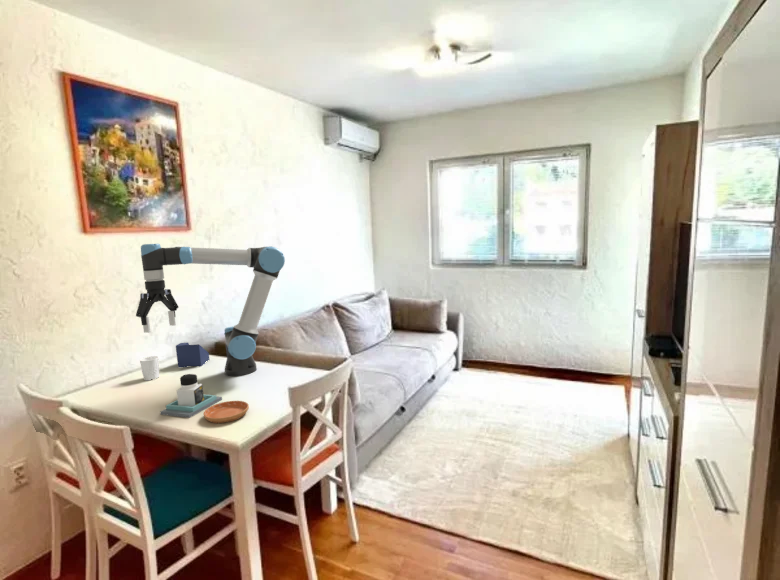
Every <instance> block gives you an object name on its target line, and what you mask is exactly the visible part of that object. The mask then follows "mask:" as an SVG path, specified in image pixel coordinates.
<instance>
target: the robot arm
mask: <svg viewBox="0 0 780 580" xmlns="http://www.w3.org/2000/svg"><path fill="white" fill-rule="evenodd" d="M140 257H141V265H142V270H143V271H142V272H143V280H145V281H144V287H145V291H146V292H145V293H144V292H143V293H140V294H139V295H140V296H139V298H140V300H139V303H138V306H137V310H136V312H135V317H138V318H140V320H141V326H143V327H142V328H143V333H145V334H146V333H149V334H150V333H151V326H150V325H151V324H150V317H149V316H148V314H149V313H150V310H151V309H152V307H153V306H154V304H155V303H157V302H161V303H162V304H163V305H164V306H165V308H167V309H168V310H167V316H168V322H169V323H168V324H169V326H171V327H172V326H176V311H177V310H178V309H179V305H178V303H177V301H176V300H175V297H174V296H173V294H172V290H171V289H168V288H167V289H166V282H165V280H164V279H165V273H164V266H173V265H175V266H177V265H188V264H191V265H193V264H194V265H195V264H196V265H198V264H199V265H223V266H224V265H225V266H226V265H227V266H229V265H230V266H231V265H232V266H234V265H235V266H247V267H248V268H253V269H252V273H253V274H254V277H253V279H252V283H251V286H250V288H249V290H248V291H249V292H248V294H247V297H246V300H245V303H244V306H243V308H242V312H241V315H240V318H239V321H238V323H237V324H235V325H233V326H228V327H226V328H224V339H225V349H226V362H225V366H224V374H225V375H226V376H231V377H233V376H234V377H237V376H245V375H248V374H251V373H254V372H255V371H257V369H258V368H257V363H256V361H255V359H254V356H253V355H254V353H255V352H256V349H257V340H258V337H259V331H258V325H259V324H260V320H261V317H262V314H263V311H264V308H265V305H266V302H267V300H268V297H269V294H270V290H271V287H272V284H273V282H274V280H277V279H278V277H279V275H280V271H281V270H282V269H283V268H284V266H285V261H286V259H285V255H284V252H283V251H282V250H281V249H279V248H277V247H276V246H263V247H248V249H237V248H236V249H235V248H215V247H214V248H212V247H211V248H210V247H207V248H206V247H191V246H174V247H162V246H161V244H160V243H143V244H142V245H141V246H140Z"/></svg>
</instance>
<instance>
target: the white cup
mask: <svg viewBox="0 0 780 580" xmlns="http://www.w3.org/2000/svg"><path fill="white" fill-rule="evenodd" d="M139 363H140V369H141V373H142V376H143V377H142V378H143V380H144V381H152V380H151V379H154V380H156V379H155V378H157V379H159V378H160V362H159V356H155V355H154V356H147V357H143V358H140V359H139ZM158 377H159V378H158Z"/></svg>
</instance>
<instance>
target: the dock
mask: <svg viewBox="0 0 780 580" xmlns="http://www.w3.org/2000/svg"><path fill="white" fill-rule="evenodd" d="M203 395H204V401H202V402H201V403H199V404H197V405H195V406H193V407H189V406H179V405H178V399H176V400H175V401H172V402H170V403H168V404H166V405H165V408H164V409H163V410H160V411H159V413H160V415H161V416H162V415H163V416H170V417H171V416H172V417H180V418H181V417H182V418H192V417H194V416H195V415H197V414H199V413H200V412H202V411H203V412H204V411H205V410H206V409H207V408H209V407H211V406H213V405H216V404H218V402H219V403H220V402H221V401H222V400H223V396H217V395H215V394H214V395H213V394H204V393H203Z"/></svg>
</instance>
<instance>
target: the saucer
mask: <svg viewBox="0 0 780 580" xmlns="http://www.w3.org/2000/svg"><path fill="white" fill-rule="evenodd" d="M248 410H249V404H248V402H246V401H243V400H228V401H224V402H223V401H222V402H219V403H215V404H213V405H212V406H210V407H208V408H206V409H204V410H203V413H202V414H203V417H204V419H205V420H207V421H208V422H210V423H213V424H226V423H231V422H234V421H237V420H238V419H241V418H242V417H243V416H245V414H246V413H248Z"/></svg>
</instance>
